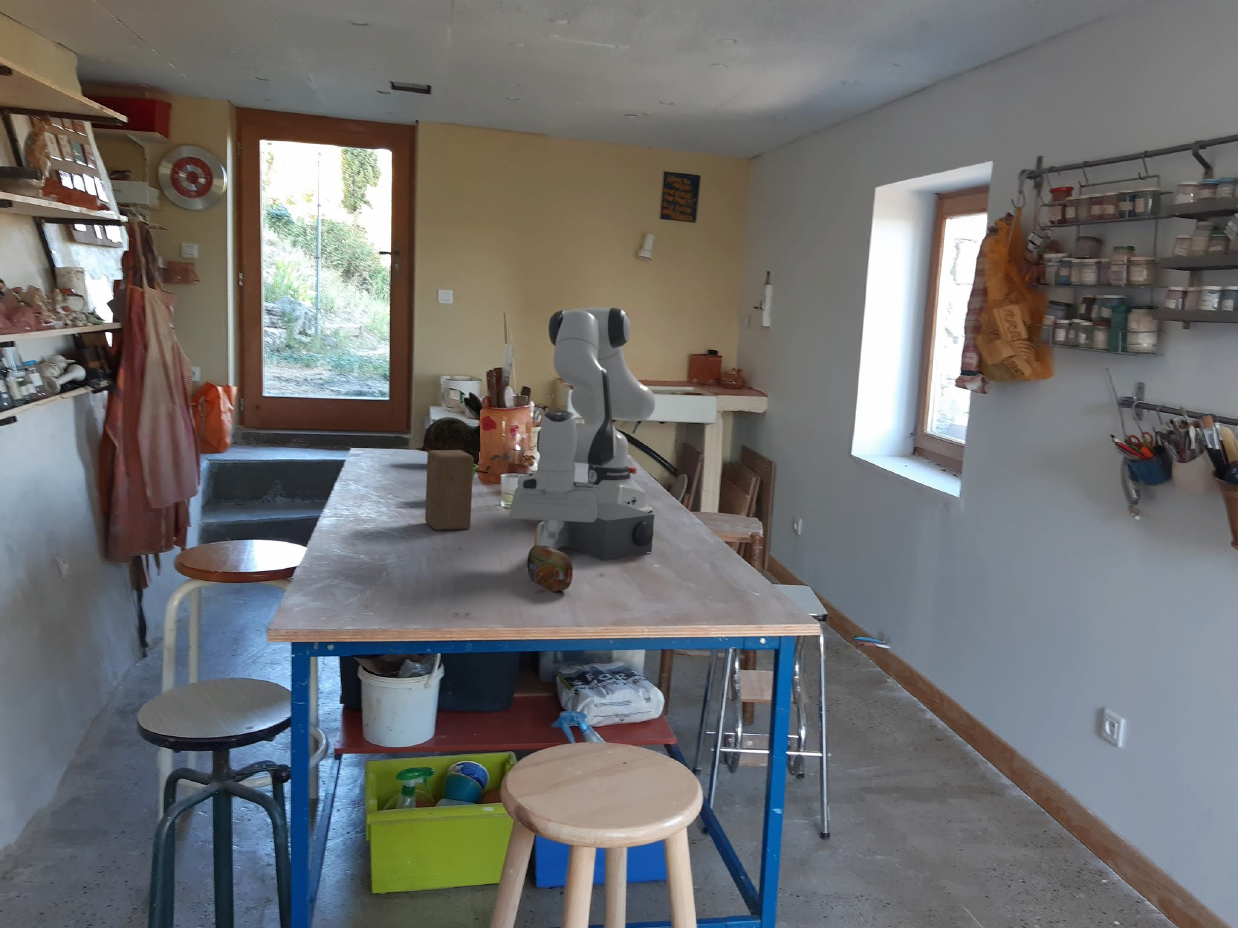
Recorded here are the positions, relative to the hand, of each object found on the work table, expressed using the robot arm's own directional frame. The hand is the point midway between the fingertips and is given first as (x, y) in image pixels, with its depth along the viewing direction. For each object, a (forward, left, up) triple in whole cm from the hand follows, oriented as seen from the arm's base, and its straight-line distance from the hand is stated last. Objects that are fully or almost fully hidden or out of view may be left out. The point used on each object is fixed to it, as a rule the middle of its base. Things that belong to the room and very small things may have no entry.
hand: (552, 538), depth 223 cm
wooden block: (+3, -43, -6) cm, 43 cm away
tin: (+11, +13, -7) cm, 18 cm away
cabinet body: (-21, -5, -6) cm, 23 cm away
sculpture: (-46, -115, -7) cm, 124 cm away
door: (-4, -7, -6) cm, 10 cm away
